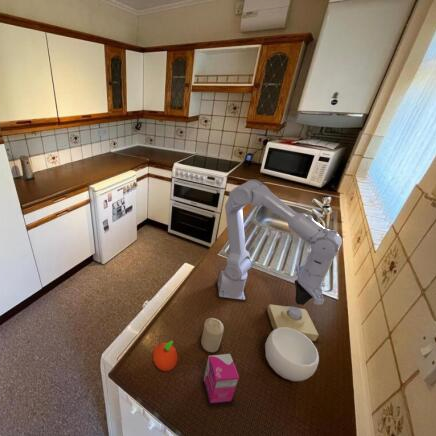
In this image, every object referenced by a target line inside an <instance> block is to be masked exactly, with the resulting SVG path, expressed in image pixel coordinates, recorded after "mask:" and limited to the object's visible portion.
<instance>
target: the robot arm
mask: <svg viewBox="0 0 436 436" xmlns="http://www.w3.org/2000/svg"><path fill="white" fill-rule="evenodd" d="M250 203H251V204H250ZM248 205H250V206H251V207H264V208H266V209H268V210H269V211H271V212H272V213H273V214H275V215H276V216H278V217H279V218H281V219H282V220H284V221H285V222H287V226H288V229H289V231H292V232H293V233H294V234H295V235H296V236H298V237H299V238H300V239H302V240H303V241H304V242H306V243H307V244H309V245H310V251H309V253H308V254H307V256H306V259H305V261H304V263H303V265H300V264H299V265H298V264H297V265H296V267H295V269H294V271H295V272H296V273H297V275H296V277H297V278H296V279H295V280H294V286H295V303H296V305H302V306H304V305H305V304H306V303H308V302H309V301H310V300H312V299H313V301H312V302H313V304H314V305H318V306H323V304H324V303H325V299H324V298H325V297H324V296H323V288H324V287H325V286H326V283H325V282H324V280H325V278H326V276H327V274H328V272H329V270H330V268H331V266H332V265H333V262H334V261H333V260H334V259H335V257H336V256H337V255H338V254H339V250H340V248H341V246H342V244H343V239H342V236H341V235H340V234H339V233H338V232H337V231H336V230H333V229H329V228H328V227H324V226H322V225H321V224H320V223H319V222H317V221H316V220H314V216H312V215H311V214H308V215H307V214H306V213H304V212H303V213H301V212H299V213H298V212H296V211H295V210H293V209H292V208H291V207H290V206H289V205H288V204H287V203H285V202H284V201H283V200H281V199H280V198H279V197H278V196H276V194H274V193H273V192H272V191H271V190H270V189H269V187H268V186H267V185H265V184H263V183H262V182H261V181H259V180H258V179H255V178H254V179H249V180H247V181H245V182H244V183H242V184H240V185H238V186H236V187H234V188H233V189H232V190H230V192H228V198H227V200H226V201H225V204H224V210H225V219H226V220H225V221H226V229H227V237H228V247H229V253H228V256H227V258H226V266H225V268H224V270H220V272H219V276H218V280H217V289H218V290H217V291H218V297H220V298H228V299H233V300H239V301H240V300H241V301H246V296H245V292H244V289H245V286H246V282H247V279H248V271H249V270H250V269H251V268H252V267H253V264H254V263H253V259H252V258H251V255H250V252H249V251H248V250H247V247H246V236H245V225H244V224H245V223H244V214H243V209H244V208H245V207H246V206H248Z"/></svg>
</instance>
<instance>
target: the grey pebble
mask: <svg viewBox="0 0 436 436" xmlns="http://www.w3.org/2000/svg"><path fill="white" fill-rule="evenodd" d="M298 308H299V307H296V306H290V309H289V311H288V315H289V316H290V317H291V318H293V319H295V320H299V319H300V317H301V315H302V312H301V310H300V309H301V308H300V309H298Z"/></svg>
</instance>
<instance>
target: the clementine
mask: <svg viewBox="0 0 436 436" xmlns="http://www.w3.org/2000/svg"><path fill="white" fill-rule="evenodd" d="M173 343H174V340H169V341H168V342H160V343H158V344H157V346H155V348H154V349H153V353H152V360H153V363H154V365H155V367H156V368H157V369H158V370H160V371H163V372H168V371H171V370H172V369H174V368H175V367H176V365H177V363H178V352H177V350H176V348H175V346H174V345H173Z"/></svg>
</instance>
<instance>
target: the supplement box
mask: <svg viewBox="0 0 436 436" xmlns="http://www.w3.org/2000/svg"><path fill="white" fill-rule="evenodd" d="M237 370H238V369H237V368H236V365H235V363H234V360H233V357H232V355H231V353H224V354H214V355H208V358H207V363H206V367H205V372H204V375H203V382H204V385H205V389H206V393H207V397H208V401H209V404H219V403H220V404H221V403H229V402H232V400H233V397H234V395H235V391H236V389H237V385H238V382H239V379H240V375H239V373H238V371H237Z"/></svg>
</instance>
